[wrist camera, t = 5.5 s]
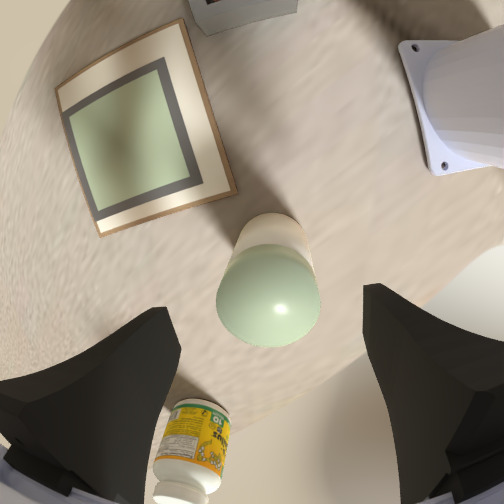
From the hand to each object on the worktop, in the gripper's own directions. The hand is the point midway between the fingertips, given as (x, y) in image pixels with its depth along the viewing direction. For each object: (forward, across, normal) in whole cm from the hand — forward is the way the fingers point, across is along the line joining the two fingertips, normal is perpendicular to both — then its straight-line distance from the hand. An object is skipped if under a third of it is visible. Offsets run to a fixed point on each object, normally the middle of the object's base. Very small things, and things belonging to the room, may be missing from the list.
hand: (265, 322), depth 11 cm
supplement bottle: (+8, +8, +15) cm, 19 cm away
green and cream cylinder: (+7, 0, 0) cm, 7 cm away
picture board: (+7, +7, -8) cm, 13 cm away
